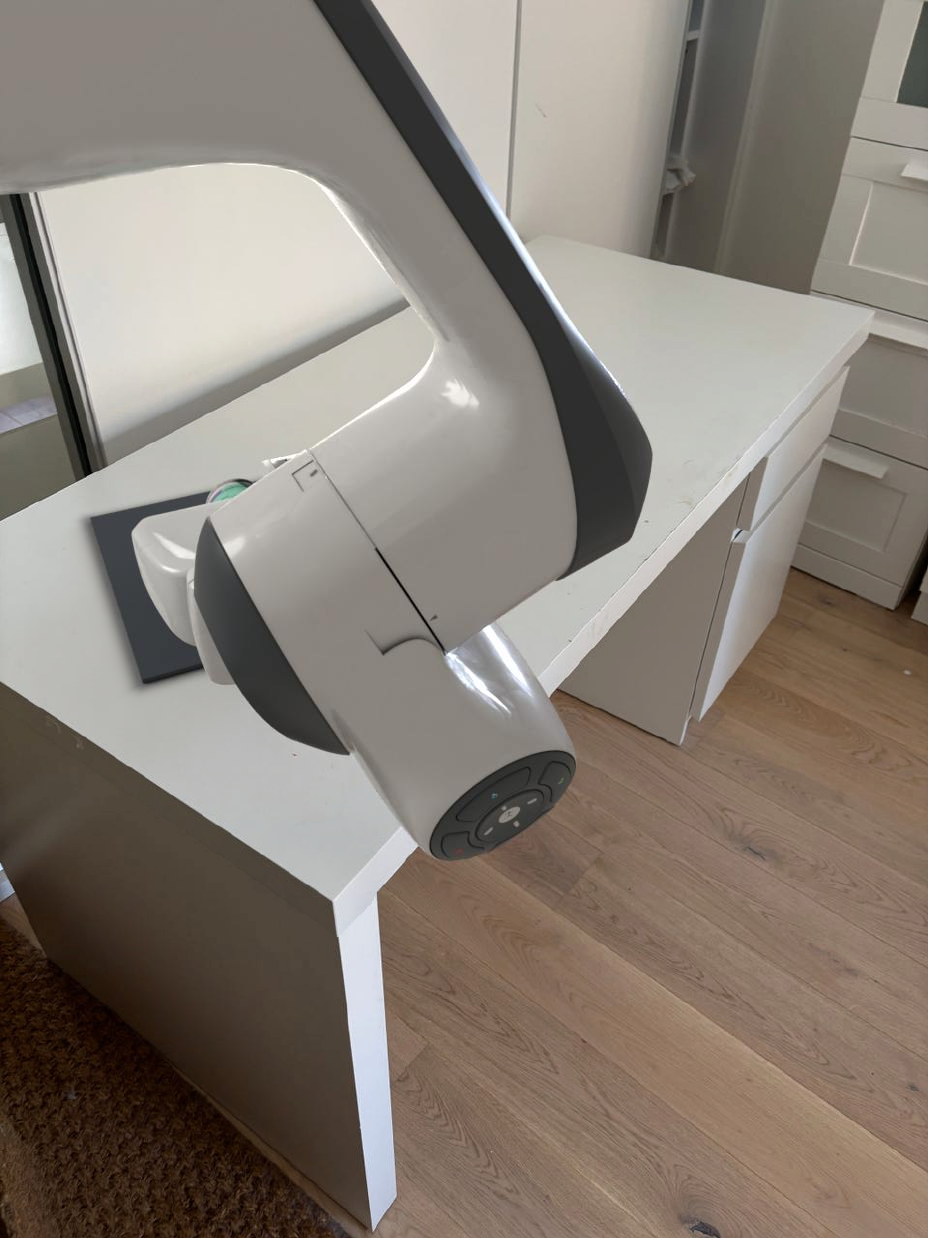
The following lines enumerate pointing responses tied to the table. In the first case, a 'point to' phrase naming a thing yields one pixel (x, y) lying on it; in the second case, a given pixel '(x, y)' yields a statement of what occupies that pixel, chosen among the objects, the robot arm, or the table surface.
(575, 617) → the table surface
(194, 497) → the mat
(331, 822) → the table surface
